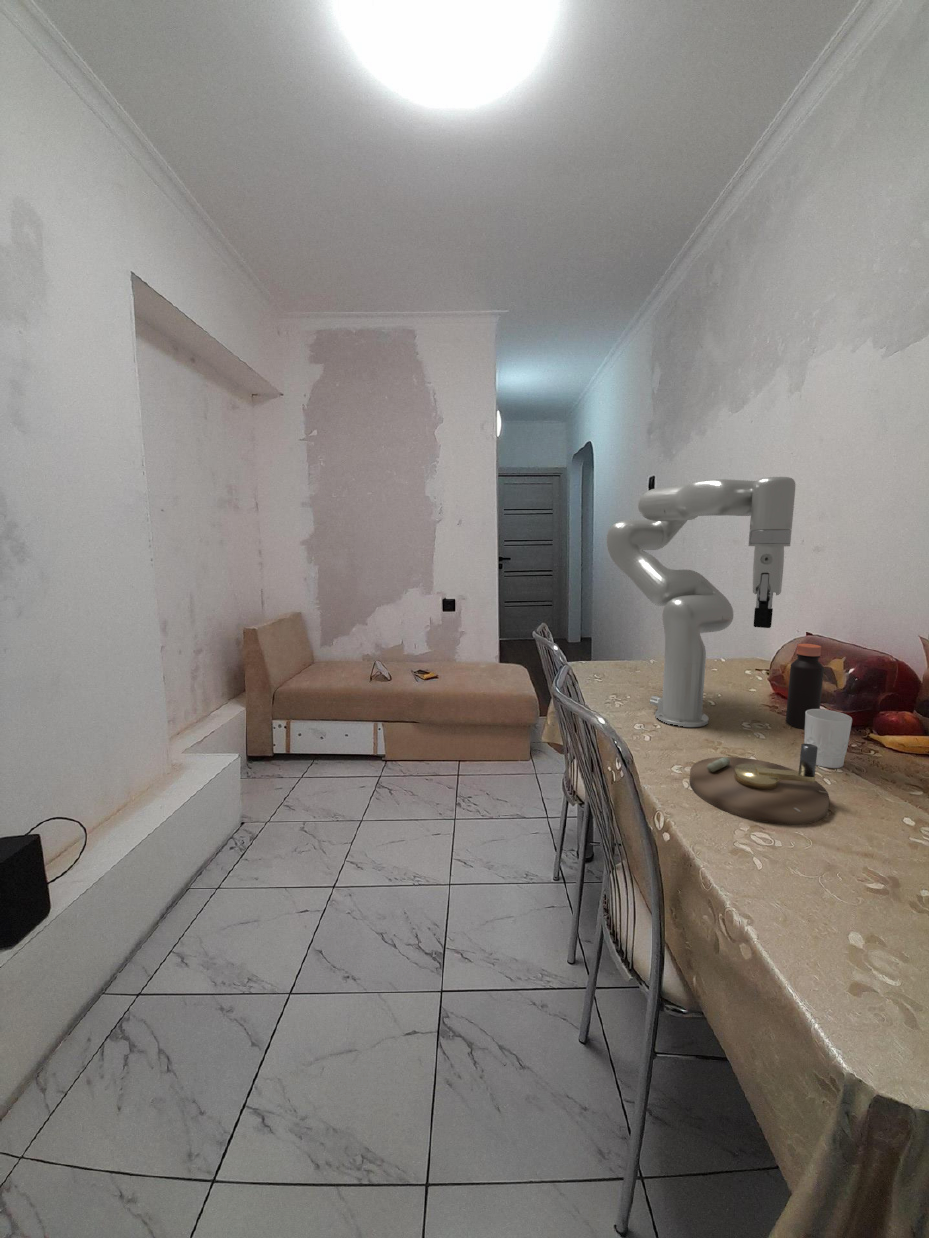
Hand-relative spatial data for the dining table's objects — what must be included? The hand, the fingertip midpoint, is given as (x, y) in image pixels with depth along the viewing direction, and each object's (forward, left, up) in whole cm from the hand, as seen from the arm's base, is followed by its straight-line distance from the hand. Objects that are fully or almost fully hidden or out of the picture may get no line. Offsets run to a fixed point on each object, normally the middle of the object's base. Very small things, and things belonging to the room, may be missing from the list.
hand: (762, 626), depth 112 cm
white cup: (+12, +5, -27) cm, 30 cm away
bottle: (0, +25, -27) cm, 37 cm away
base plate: (+10, -20, -27) cm, 35 cm away
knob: (+12, -18, -25) cm, 33 cm away
